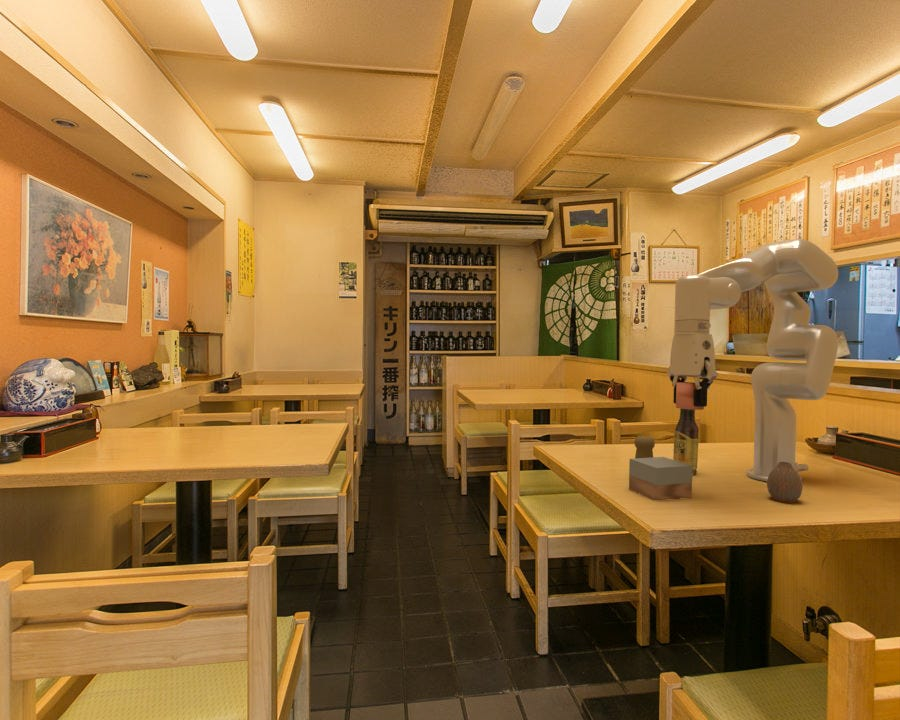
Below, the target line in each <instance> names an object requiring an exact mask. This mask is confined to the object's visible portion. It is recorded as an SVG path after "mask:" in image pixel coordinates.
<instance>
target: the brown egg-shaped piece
mask: <svg viewBox="0 0 900 720" xmlns="http://www.w3.org/2000/svg"><path fill="white" fill-rule="evenodd" d="M800 476H801V475H800V474H799V472H798V473H797V472H796V471H795V470H794V468H793V467H792V464H791V463H789V462H779V463H778V465H777V466H776V467H775V468H774V469H773V470H772V471H771V472H770V474H769V475H768V478H767V481H766V487H767V491H768V494H769V495H770V497H771V498H772V499H774V500H775V501H778V502H782V503H795V502H796V501H798V500H799V499H800V498H801V497H802V493H803V486H804V485H803V479H802V480H801V478H800Z"/></svg>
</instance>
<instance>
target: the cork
mask: <svg viewBox="0 0 900 720" xmlns="http://www.w3.org/2000/svg"><path fill="white" fill-rule="evenodd" d="M655 443H656V442H655V440H654V438H652V437H650V436H645V435H640V436H636V437H635V439H634V446H635V448H636V450H635V456H634V459H635V458H652V457H654V451H653V449H654V448H655V446H656V445H655Z"/></svg>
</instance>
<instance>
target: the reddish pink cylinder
mask: <svg viewBox="0 0 900 720" xmlns="http://www.w3.org/2000/svg"><path fill="white" fill-rule="evenodd" d="M694 389H697V388H696V385H695V381H694V382H693V381H691V382H689V381H688V382H687V381H686V382H676V404H675V408H676V409H691V410H695V411H700V410H701V411H703V410H705V407H696V406H694Z"/></svg>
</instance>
